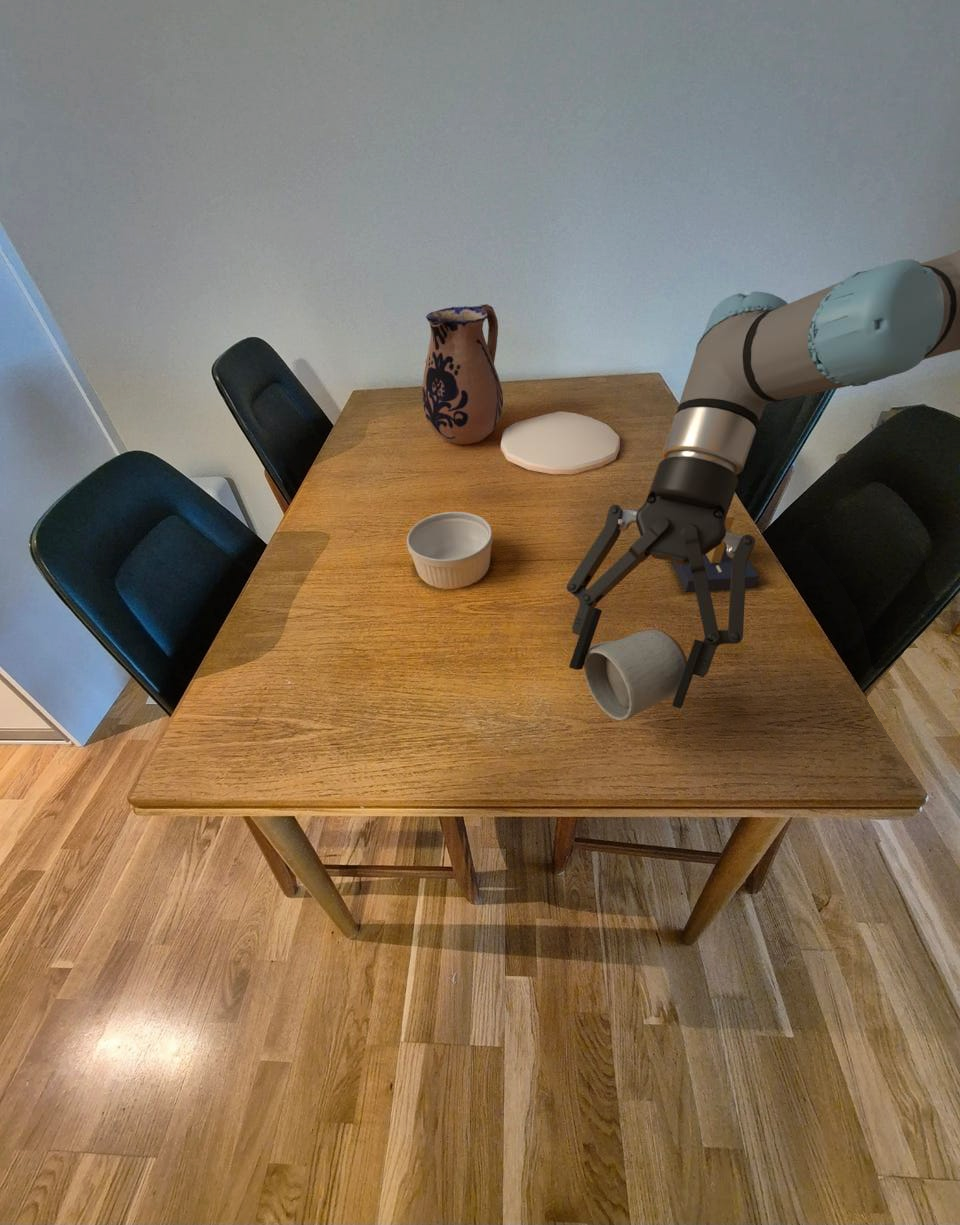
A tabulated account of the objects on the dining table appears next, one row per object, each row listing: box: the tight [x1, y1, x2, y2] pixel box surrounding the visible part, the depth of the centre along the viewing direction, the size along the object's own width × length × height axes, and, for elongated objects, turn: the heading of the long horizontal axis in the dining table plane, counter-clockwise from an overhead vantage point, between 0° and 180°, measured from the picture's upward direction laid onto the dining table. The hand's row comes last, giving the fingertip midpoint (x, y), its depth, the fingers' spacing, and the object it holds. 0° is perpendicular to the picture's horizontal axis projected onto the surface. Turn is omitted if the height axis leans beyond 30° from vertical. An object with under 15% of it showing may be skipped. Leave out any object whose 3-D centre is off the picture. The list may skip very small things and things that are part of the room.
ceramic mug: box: [583, 628, 688, 722], centre depth 55 cm, size 11×8×8 cm
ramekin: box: [406, 511, 494, 590], centre depth 84 cm, size 13×13×7 cm
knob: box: [706, 509, 735, 563], centre depth 77 cm, size 5×1×8 cm, turn 1°
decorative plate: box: [500, 410, 621, 475], centre depth 112 cm, size 25×4×25 cm
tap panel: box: [670, 530, 760, 593], centre depth 81 cm, size 12×10×3 cm
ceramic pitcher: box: [422, 303, 504, 445], centre depth 114 cm, size 18×21×25 cm
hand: (624, 686), depth 52 cm, fingers closed on ceramic mug, 10 cm apart
